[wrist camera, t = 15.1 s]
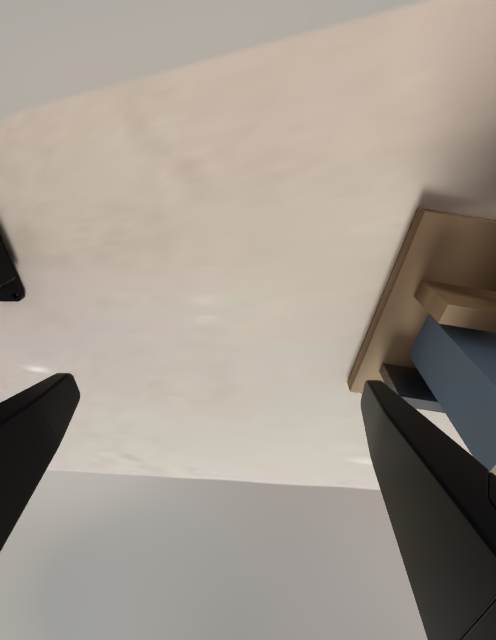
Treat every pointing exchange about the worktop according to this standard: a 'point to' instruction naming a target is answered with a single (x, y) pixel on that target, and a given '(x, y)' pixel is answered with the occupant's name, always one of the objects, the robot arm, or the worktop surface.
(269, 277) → the worktop surface
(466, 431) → the blue tall block
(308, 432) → the worktop surface
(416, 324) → the stand
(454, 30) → the worktop surface
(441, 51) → the worktop surface
